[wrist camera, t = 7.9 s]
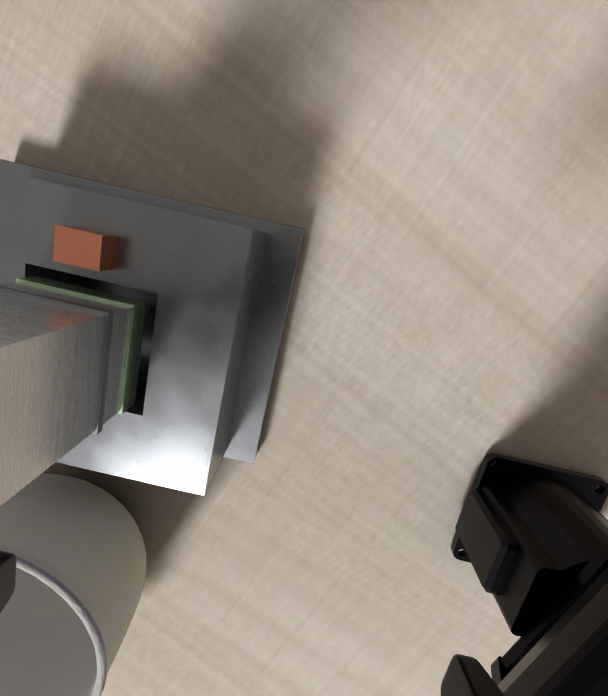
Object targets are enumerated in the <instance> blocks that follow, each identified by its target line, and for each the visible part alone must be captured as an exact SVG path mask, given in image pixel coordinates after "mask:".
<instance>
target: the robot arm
mask: <svg viewBox="0 0 608 696" xmlns="http://www.w3.org/2000/svg"><path fill="white" fill-rule="evenodd" d="M494 462H498V464H497V465H496V466H491V465H492V464H493V463H494ZM597 486H599V488H597V489H595V488H596V487H597ZM607 496H608V483H607V482H605V481H604V480H603V479H602V478H600V477H596V476H592V475H587V474H583V473H579V472H574V471H570V470H565V469H561V468H557V467H552V466H548V465H544V464H539V463H535V462H531V461H526V460H522V459H517V458H513V457H509V456H504V455H500V454H489V455H488V456H486V457H485V459H484V461H483V464H482V466H481V469H480V472H479V474H478V477H477V479H476V482H475V485H474V487H473V488H472V489H471V490H470V491H469V493H468V496H467V498H466V501H465V504H464V506H463V509H462V511H461V514H460V517H459V519H458V522H457V525H456V531H457V532H456V534H455V537H454V539H453V542H452V545H451V550H452V553H453V555H454V557H455V558H456V559H458V560H462V561H466V562H471V563H472V565H473V567H474V569H475V572H476V574H477V576H478V578H479V580H480V582H481V584H482V586H483V588H484V589H485V591H486V592H488V593H492V594H493V595H494V597H495V599H496V601H497V603H498V605H499V608H500V610H501V612H502V614H503V616H504V618H505V620H506V622H507V624H508V626H509V628H510V630H511V632H512V634H514V635H516V636H521V637H520V638H519V639H518V640H517V642H516V643H515V644H514V645H513V646H512V647H511V648H510V649H509V650H508V651H507V653H506V654H505V655H504V656H503V657H500V656H499V657H498V658H497V659H496V660H495V661H494V662H493V663H492V664H491V673H492V678H491V677H490V676H489V674H488V673H487V672H486V671H485V669H484V668H483V667H482V665H481V664H480V663H479V662H478V661H477V660H476V659H475V658H473V657H469V656H464V655H460V654H456V655H454V656H453V657H452V659H451V662H450V664H449V667H448V669H447V671H446V674H445V676H444V678H443V681H442V685H441V696H608V520H607V519H606V518H605V517H604V516H603V515H602V514H601V513H600V510H601V508H602V506H603V504H604V502H605V500H606V498H607ZM460 549H463V550H462V551H459V550H460ZM16 563H17V559H16V556H15V554H13V553H9V552H5V551H0V613H1V612H2V610H3V609H4V607H5V606H6V604H7V603H8V601H9V600H10V598H11V596H12V594H13V592H14V589H15V585H16Z"/></svg>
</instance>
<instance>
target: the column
mask: <svg viewBox="0 0 608 696" xmlns="http://www.w3.org/2000/svg"><path fill="white" fill-rule="evenodd" d="M146 305H147V302H146V301H142V300H138V299H133V298H129V297H125V296H120V295H116V294H112V293H107V292H103V291H99V290H94V289H90V288H86V287H81V286H77V285H73V284H68V283H64V282H60V281H55V280H51V279H47V278H42V277H38V276H33V277H23V278H16V282H11V283H2V284H0V506H1V505H2V504H4V503H5V502H6V501H7V500H9V499H10V498H11V497H12V496H14V495H15V494H16V493H17V492H19V491H20V490H21V489H23V488H24V487H25V486H26V485H28V484H29V483H30V482H31V481H33V480H34V479H35V478H36V477H38V476H39V475H40V474H41V473H43V472H44V471H45V470H46V469H48V468H49V467H50V466H51V465H53V464H54V463H55V462H56V461H58V460H59V459H60V458H61V457H63V456H64V455H65V454H67V453H68V452H69V451H70V450H72V449H73V448H74V447H75V446H77V445H78V444H79V443H80V442H82V441H83V440H84V439H85V438H87V437H88V436H89V435H90V434H99V433H100V432H101V431H102V427H103V424H104V423H106V422H107V421H108V420H109V419H111V418H112V417H113V416H114V415H116V414H117V413H118V414H123V413H124V412H125V411H127V410H128V409H129V408H130V407H131V406H133V405H134V404H135V396H136V387H137V379H138V371H139V363H140V354H141V346H142V338H143V329H144V321H145V313H146Z"/></svg>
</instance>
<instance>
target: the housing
mask: <svg viewBox="0 0 608 696" xmlns="http://www.w3.org/2000/svg"><path fill="white" fill-rule="evenodd" d="M304 232H305V230H304V229H300V228H296V227H291V226H287V225H283V224H278V223H274V222H270V221H265V220H261V219H257V218H252V217H248V216H244V215H239V214H235V213H231V212H226V211H222V210H218V209H214V208H209V207H205V206H201V205H196V204H192V203H188V202H183V201H179V200H175V199H170V198H166V197H162V196H157V195H153V194H149V193H144V192H140V191H136V190H132V189H127V188H123V187H119V186H114V185H110V184H106V183H101V182H97V181H93V180H88V179H84V178H80V177H75V176H71V175H67V174H62V173H58V172H54V171H50V170H45V169H41V168H37V167H32V166H28V165H24V164H19V163H15V162H11V161H6V160H2V159H0V284H2V283H11V282H16V278H23V277H33V276H38V277H42V278H47V279H51V280H55V281H60V282H64V283H68V284H73V285H77V286H81V287H86V288H90V289H94V290H99V291H103V292H107V293H112V294H116V295H120V296H125V297H129V298H133V299H138V300H142V301H146V302H147V305H146V313H145V321H144V329H143V338H142V346H141V354H140V363H139V371H138V379H137V387H136V396H135V404H134V405H133V406H131V407H130V408H129V409H128V410H127V411H125V412H124V413H123V414H118V413H117V414H116V415H114V416H113V417H112V418H111V419H109V420H108V421H107V422H106V423H104V424H103V427H102V431H101V432H100V433H99V434H90V435H89V436H88V437H87V438H85V439H84V440H83V441H82V442H80V443H79V444H78V445H77V446H75V447H74V448H73V449H72V450H70V451H69V452H68V453H67V454H65V455H64V456H63V457H61V458H60V459H59V460H58V461H56V462H57V463H62V464H66V465H70V466H75V467H79V468H83V469H88V470H92V471H97V472H101V473H105V474H110V475H114V476H119V477H123V478H127V479H132V480H136V481H141V482H145V483H149V484H154V485H158V486H163V487H167V488H171V489H176V490H180V491H184V492H189V493H193V494H198V495H202V496H204V495H205V493H206V491H207V489H208V487H209V485H210V483H211V481H212V479H213V477H214V475H215V473H216V471H217V469H218V467H219V465H220V462H221V460H222V458H223V457H227V458H231V459H235V460H240V461H244V462H249V463H253V464H254V461H255V458H256V455H257V451H258V446H259V441H260V437H261V432H262V427H263V423H264V418H265V413H266V409H267V404H268V399H269V395H270V390H271V385H272V381H273V376H274V371H275V367H276V362H277V357H278V353H279V348H280V344H281V339H282V334H283V330H284V325H285V320H286V316H287V311H288V306H289V302H290V297H291V292H292V288H293V283H294V278H295V274H296V269H297V264H298V260H299V255H300V250H301V246H302V241H303V236H304Z"/></svg>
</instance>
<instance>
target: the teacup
mask: <svg viewBox="0 0 608 696" xmlns="http://www.w3.org/2000/svg"><path fill="white" fill-rule="evenodd" d="M0 551H5V552H9V553H13V554H15V556H16V559H17V563H16V585H15V589H14V592H13V594H12V596H11V598H10V600H9V601H8V603H7V604H6V606H5V607H4V609H3V610H2V612H1V613H0V696H100V695H101V693H102V691H103V689H104V685H105V681H106V677H107V673H108V671H109V669H110V667H111V665H112V663H113V660H114V658H115V656H116V654H117V652H118V650H119V648H120V645H121V643H122V641H123V639H124V636H125V634H126V632H127V629H128V627H129V625H130V622H131V620H132V618H133V615H134V613H135V610H136V608H137V605H138V602H139V600H140V597H141V593H142V590H143V586H144V582H145V575H146V563H147V561H146V550H145V545H144V541H143V537H142V535H141V532H140V530H139V528H138V526H137V524H136V522H135V521H134V519H133V517H132V516H131V514H130V513H129V512H128V511H127V509H126V508H125V507H124V506H123V505H122V504H121V503H120V502H119V501H118V500H117V499H116V498H114V497H113V496H112V495H111V494H109V493H108V492H106V491H105V490H103V489H102V488H100V487H98V486H96V485H94V484H92V483H89V482H87V481H85V480H82V479H79V478H75V477H72V476H66V475H60V474H49V473H45V474H40V475H39V476H38V477H36V478H35V479H34V480H33V481H31V482H30V483H29V484H28V485H26V486H25V487H24V488H23V489H21V490H20V491H19V492H17V493H16V494H15V495H14V496H12V497H11V498H10V499H9V500H7V501H6V502H5V503H4V504H2V505H1V506H0Z"/></svg>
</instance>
